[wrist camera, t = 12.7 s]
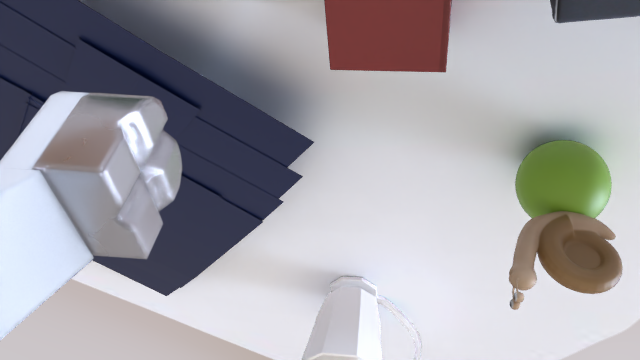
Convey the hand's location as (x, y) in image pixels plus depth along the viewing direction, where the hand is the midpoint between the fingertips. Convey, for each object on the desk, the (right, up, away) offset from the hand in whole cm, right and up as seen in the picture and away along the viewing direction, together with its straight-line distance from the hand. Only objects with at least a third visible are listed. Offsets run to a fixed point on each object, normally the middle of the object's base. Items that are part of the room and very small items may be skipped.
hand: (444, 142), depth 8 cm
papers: (-18, +2, +37) cm, 41 cm away
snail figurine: (+13, +1, +30) cm, 33 cm away
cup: (+3, -11, +45) cm, 46 cm away
